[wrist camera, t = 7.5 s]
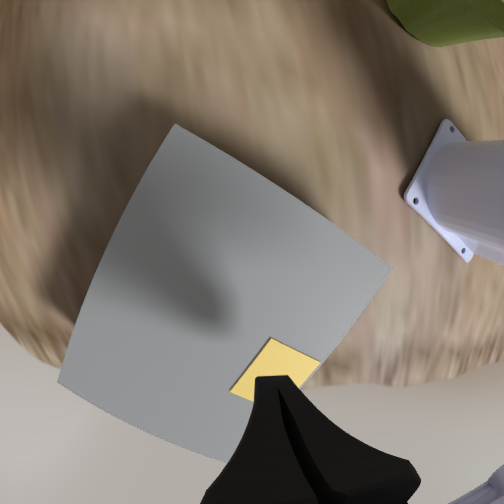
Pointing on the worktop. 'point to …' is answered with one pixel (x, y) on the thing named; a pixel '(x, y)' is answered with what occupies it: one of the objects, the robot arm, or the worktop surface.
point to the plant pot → (450, 20)
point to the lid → (212, 298)
